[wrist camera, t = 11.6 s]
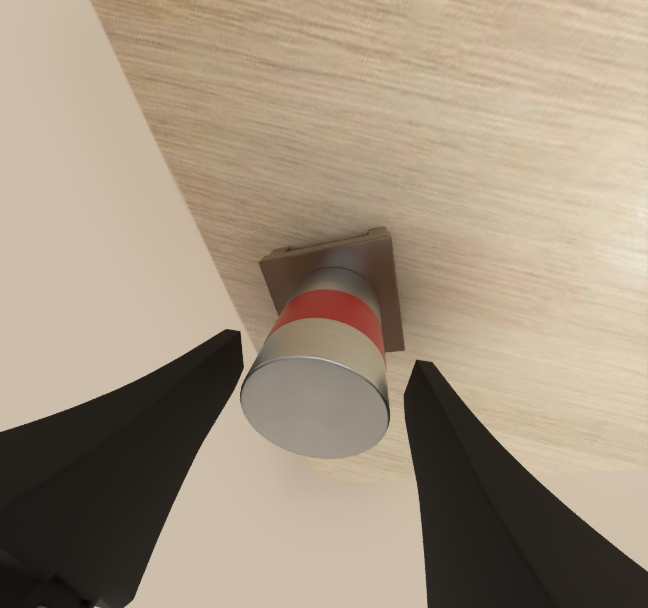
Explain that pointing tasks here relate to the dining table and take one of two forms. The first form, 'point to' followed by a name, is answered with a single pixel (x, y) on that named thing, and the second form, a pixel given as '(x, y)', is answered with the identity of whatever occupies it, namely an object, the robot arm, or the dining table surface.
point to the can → (322, 370)
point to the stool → (352, 254)
